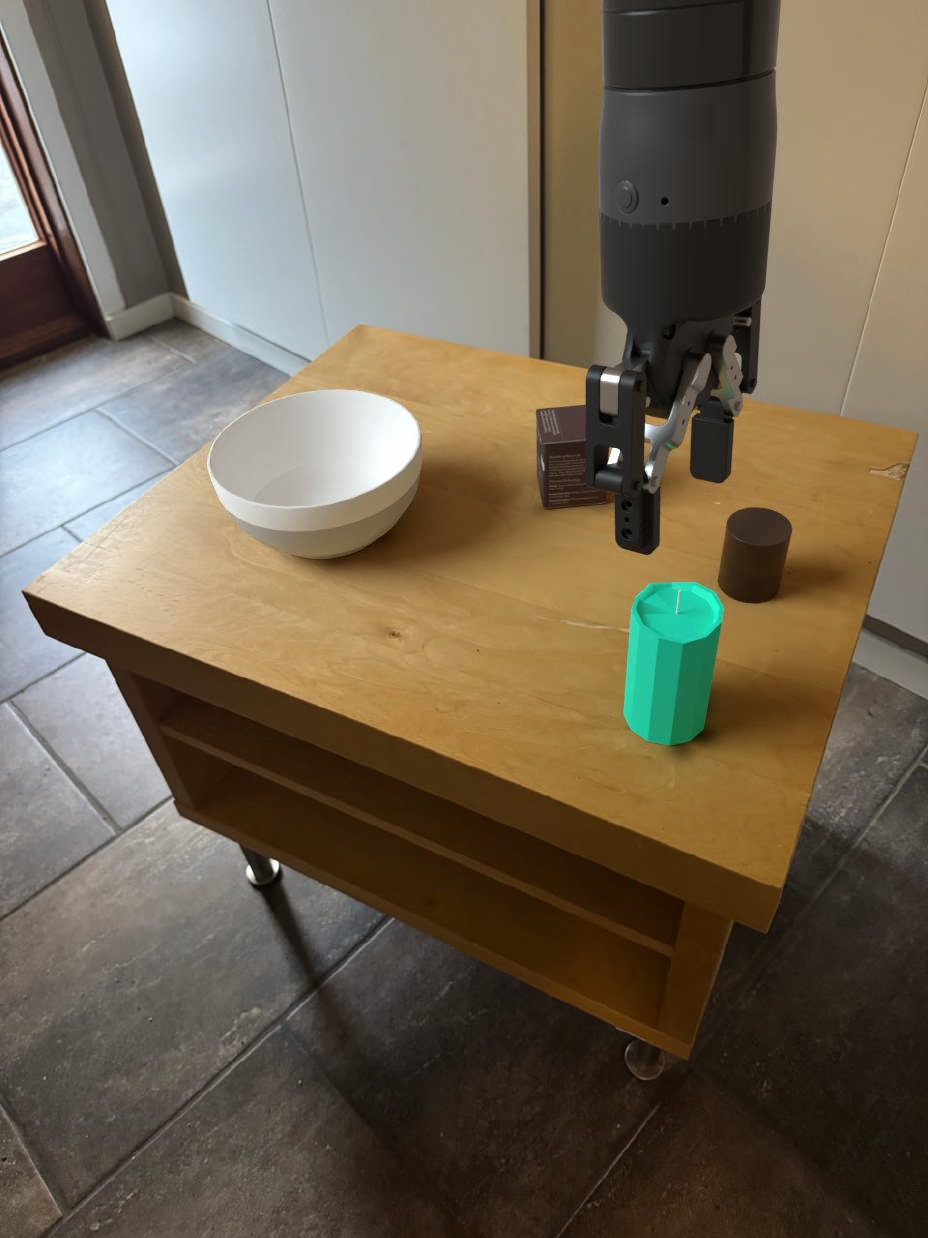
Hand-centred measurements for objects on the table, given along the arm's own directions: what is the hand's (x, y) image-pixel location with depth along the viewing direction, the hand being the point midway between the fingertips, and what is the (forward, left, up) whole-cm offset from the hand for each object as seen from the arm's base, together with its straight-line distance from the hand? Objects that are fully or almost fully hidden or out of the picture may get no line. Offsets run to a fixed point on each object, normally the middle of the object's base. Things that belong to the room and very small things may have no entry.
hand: (675, 511), depth 51 cm
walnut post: (+6, -20, -21) cm, 30 cm away
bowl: (+39, -1, -21) cm, 44 cm away
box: (+26, -20, -21) cm, 39 cm away
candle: (+2, -4, -21) cm, 22 cm away
